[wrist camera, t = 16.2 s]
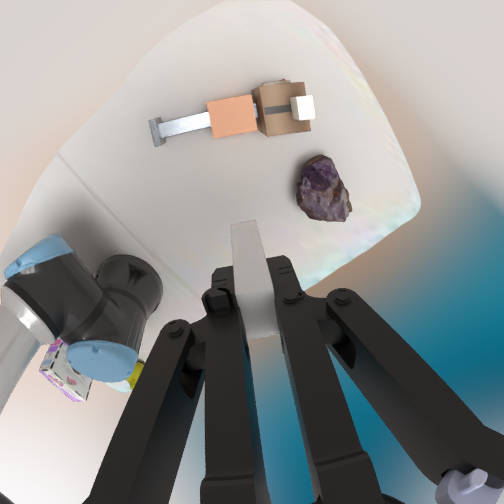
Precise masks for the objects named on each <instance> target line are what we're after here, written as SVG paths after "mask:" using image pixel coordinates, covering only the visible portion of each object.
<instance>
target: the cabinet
mask: <svg viewBox="0 0 504 504" xmlns="http://www.w3.org/2000/svg"><path fill="white" fill-rule="evenodd" d="M252 94H253V100H254V103H256V108H257V114H258V118H257V123H258V129H259V131H261V132H262V133H263V134H265V135H266V136H267V137H268V136H275V135H282V134H290V133H298V132H307V131H311V128H310V120H296V119H293V116H292V109H291V103H290V97H299V96H306V91H305V85H304V82H296V83H290V80H285V79H282V80H280V81H272V82H266V83H262V86H259V87H257V88H255V89H254V90H252Z"/></svg>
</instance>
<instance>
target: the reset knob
mask: <svg viewBox="0 0 504 504" xmlns="http://www.w3.org/2000/svg"><path fill="white" fill-rule="evenodd" d="M290 103H291V109H292V116H293V119H296V120H309V119H315V112H314V104H313V97H312V96H299V97H290Z"/></svg>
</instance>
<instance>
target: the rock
mask: <svg viewBox="0 0 504 504" xmlns="http://www.w3.org/2000/svg"><path fill="white" fill-rule="evenodd" d="M296 198H297V205H298V206H300V207H301V209H302V210H303V211H304V212H305V213H306V214H307V216H308V217H309V218H310V219H314V220H319V221H321V220H324V221H327V222H329V221H331V222H332V221H338V222H345V220H346V217H348V216H349V212H351V211H352V207H351V203H350V201H349V193H348V191H347V189H345V187H344V184H343V182H342V180H341V179H340V177H339V175H338V172H337V170H336V169H335V165H334V163H333V161H332V159H331V158H328V157H326V156H324V155H320V156H318V157H314V158H312V159H310V160H309V161H308V162H307V163H306V165H305V167H304V169H303V171H302V174H301V183H297V194H296Z"/></svg>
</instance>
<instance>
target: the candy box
mask: <svg viewBox="0 0 504 504" xmlns="http://www.w3.org/2000/svg"><path fill="white" fill-rule="evenodd" d="M67 347H68V345H67V344H66V343H65V342H64V341H63V340H62V339H61V338H60V337H58V338H57V340H56V341H55V343H54V344H50V347H49V349H48V351H47V353H46V355H45V357H44V360H43V362H42V364H41V366H40V369H39V371H40V372H41V373H42V374H43V375H44V376H45V377H46V378H47V379H48V380H49V381H50V382H52V383H53V384H54V385H55V386H56V387H57V388H58V389H59V390H60V391H62V392H63V393H64V394H65V395H66V396H68V397H69V398H70V399H71V400H72V401H87V397H88V394H89V390H90V387H91V383H92V380H93V379H91V378H89V377H86V376H84V375H82V374H81V373H79V372H78V371H76V370H75V369H74V368H73V367H72V366H71V365H70V364H69V362H68V359H67V357H66V349H67Z"/></svg>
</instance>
